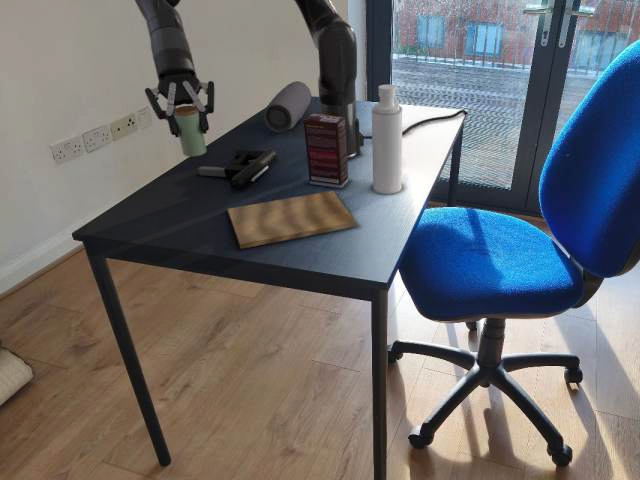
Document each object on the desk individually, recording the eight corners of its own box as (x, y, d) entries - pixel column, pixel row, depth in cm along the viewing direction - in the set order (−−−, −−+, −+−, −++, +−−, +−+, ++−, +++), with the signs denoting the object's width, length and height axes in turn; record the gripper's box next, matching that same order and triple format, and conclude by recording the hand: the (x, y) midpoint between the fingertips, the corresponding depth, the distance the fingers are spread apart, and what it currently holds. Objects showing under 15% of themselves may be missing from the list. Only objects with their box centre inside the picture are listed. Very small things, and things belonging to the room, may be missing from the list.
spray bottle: (378, 180, 135) (376, 73, 121) (404, 183, 133) (406, 76, 119) (369, 191, 130) (366, 82, 115) (396, 195, 128) (397, 84, 114)
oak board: (333, 195, 129) (333, 190, 128) (355, 226, 117) (355, 221, 116) (228, 213, 122) (227, 208, 121) (240, 249, 110) (239, 243, 109)
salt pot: (205, 146, 119) (196, 104, 114) (208, 154, 115) (198, 111, 110) (182, 149, 117) (171, 107, 112) (184, 158, 114) (173, 114, 109)
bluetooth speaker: (286, 111, 178) (282, 78, 172) (314, 112, 177) (312, 79, 171) (263, 136, 160) (259, 101, 154) (295, 137, 159) (291, 102, 153)
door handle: (183, 175, 132) (243, 179, 128) (226, 145, 148) (281, 148, 144) (187, 188, 134) (246, 192, 130) (229, 157, 150) (283, 160, 145)
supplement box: (349, 180, 135) (346, 116, 126) (341, 189, 131) (338, 123, 122) (316, 176, 137) (311, 112, 128) (308, 184, 134) (302, 118, 124)
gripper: (132, 50, 109) (150, 130, 107) (207, 43, 113) (226, 120, 111) (139, 71, 116) (156, 147, 114) (209, 64, 120) (227, 137, 118)
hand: (191, 133), depth 112 cm, fingers closed on salt pot, 4 cm apart
